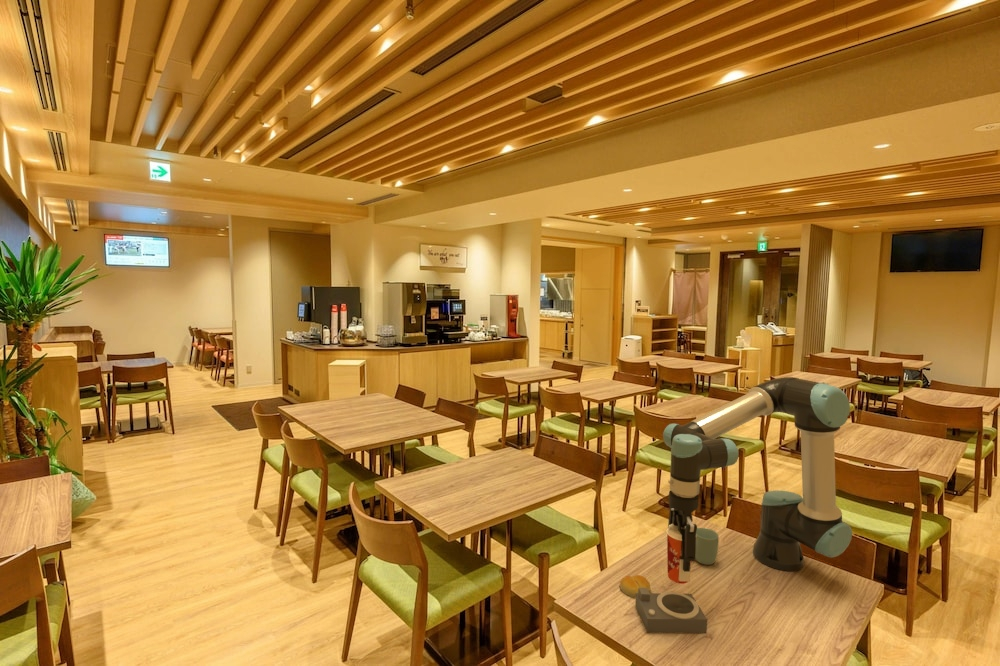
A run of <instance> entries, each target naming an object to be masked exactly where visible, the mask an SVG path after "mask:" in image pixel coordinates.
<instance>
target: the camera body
mask: <svg viewBox="0 0 1000 666" xmlns="http://www.w3.org/2000/svg"><path fill="white" fill-rule="evenodd" d="M634 606H635V609H636V611H637V613H638V616H639V617H640V619H641V622H642V624H643V625H642V626H643V627H644V629H645V631H646V633H647V634H707V632H708V631H707V630H708V629H707V628H708V618H707V616H706V615H705V613H704V611H703V610H702V608H701V607H700V605H699V604H698V602H697V600H696V599H695V597H694V595H693V594H692V593H684V592H683V593H682V592H678V591H663V592H661V593H659V592H654V593H653V592H651V593H649V591H648V589H647V588H639V589H638V593H636V598H635V605H634Z"/></svg>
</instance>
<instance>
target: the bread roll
mask: <svg viewBox="0 0 1000 666" xmlns="http://www.w3.org/2000/svg"><path fill="white" fill-rule="evenodd" d="M650 583H651V582H649V581H648V579H647V578H646V577H644V576H642V575H640V574H635V575H633V576H624V577H622V579H621V580H620V585H619V586H620V591H621V592H622V593H624V594H625V595H628V596H629V597H632V598H635V599H636V593H638V589H639V588H647V589H648V591H649V593H652V589H651V584H650Z"/></svg>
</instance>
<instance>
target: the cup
mask: <svg viewBox="0 0 1000 666" xmlns="http://www.w3.org/2000/svg"><path fill="white" fill-rule="evenodd" d="M719 539H720V538H719V534H718V532H717V531H715V530H713V529H711V528H707V527H697V531H696V554H695V561H696V562H698V563H699V564H702V565H705V566H707V565H709V566H710V565H713V564H714V563H715V562H716V560H717V557H718V552H719V543H720V542H719Z"/></svg>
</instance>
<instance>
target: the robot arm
mask: <svg viewBox="0 0 1000 666" xmlns="http://www.w3.org/2000/svg"><path fill="white" fill-rule="evenodd" d="M850 411H851V404H850V400H849V397H848V396H847V394H846V393H845V392H844V390H842V389H841V388H839V387H837V386H834V385H831V384H829V383H825V382H819V381H813V380H808V379H803V378H799V377H793V376H785V377H777V378H774V379H770V380H767V381H765V382H762V383H759V384H757V385H755V386H753V387H751V388H749V390H748V391H747V393H746V394H744V395H742V396H740V397H738V398H735V399H734V400H731V401H730V402H728V403H725V404H723V405H722V406H720V407H718V408H716V409H713V410H711V411H710V412H708V413H705V414H703V415H702V416H701V415H700V416H698V417H697V418H695V419H693V420H691V421H689V422H687V423H684V424H679V423H669V424H668V425H666V427H665V428H664V430H663V432H662V439H663V443H664V444H665V445H666V446H667V447H669V448H670V454H671V455H670V471H669V473H670V475H669V476H670V477H669V480H668V482H667V483H668V484H669V492H668V505H669V514H668V521H667V522H668V525H667V527H668V526H669V525H670V524H674V525H675V526H678V531H679V532H680V534H681V535H682V542H681V554H682V557H679V559H680V565H679V581H688V582H690V581H691V570H690V568H691V569H692V563H691V561H692V562H696V559H695V554H696V531H697V528H698V525H697V524H696V523H693V514H692V513H693V512H695V511H696V510H697V509H699V494H700V485H701V484H700V483H701V471H703V470H710V469H718V468H719V469H720V468H727V467H729V466H733V465H735V464H736V463H737V462H738V460H739V449H738V446H737V445H736V443H735V442H734V441H733V440H732V439H729V438H722V437H720V436H724V435H725V434H727V433H729V432H731V431H732V430H735V429H737V428H739V427H740V426H743V425H744V424H746V423H748V422H750V421H752V420H754V419H756V418H758V417H760V416H764V417H765V416H769V415H771V414H773V413H782V414H787V415H790V416H793V417H794V418H793V419H794V420H793V421H794V427H795V429H797V430H799V431H800V451H801V452H800V454H801V483H802V486H801V487H802V496H801V495H800V494H799V493H795V492H792V491H787V490H779V489H778V490H769V491H766V492H764V493H763V495H762V500H761V501H762V502H761V512H760V531H759V534H758V536H757V538H756V539H755V542H754V543H753V546H752V555H753V557H754V558H755V559H756V560H757V561H758V562H760V563H762V564H763V565H766V566H768V567H769V568H773V569H776V570H779V571H788V572H791V571H792V572H794V571H795V572H797V571H799V570H801V569H803V567H804V562H805V559H804V553H803V550H802V548H801V544H802V545H803V546H806V547H807V548H809V549H811V550H813V551H815V552H816V553H817V554H821V555H822V556H825V557H827V558H836V557H839V556H840V555H842V554H843V553H844V552H845V550H847V548H848V547H849V545H850V543H851V541H852V539H853V538H852V536H853V529H852V528H851V526H850V525H849V524H848V523H846V522H843V512H842V509H840V507H838V506H837V503H836V500H837V499H836V498H837V497H836V461H835V459H836V457H835V455H836V454H835V453H836V452H835V451H836V450H835V434H836V433H838V432H839V431H840V429H841V427H842V426H844V425H845V424H846V423H847V421H848V417H849V416H850ZM718 437H719V438H718ZM682 528H685V529H682Z"/></svg>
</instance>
